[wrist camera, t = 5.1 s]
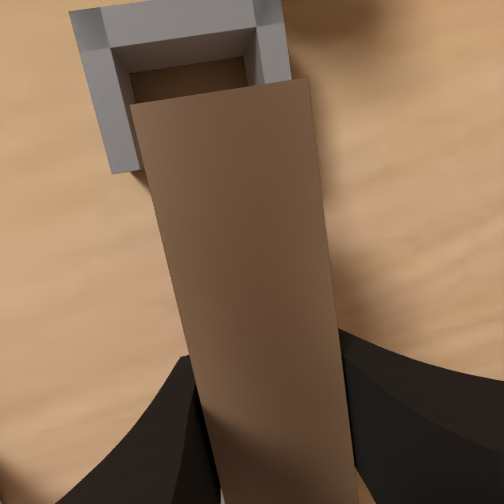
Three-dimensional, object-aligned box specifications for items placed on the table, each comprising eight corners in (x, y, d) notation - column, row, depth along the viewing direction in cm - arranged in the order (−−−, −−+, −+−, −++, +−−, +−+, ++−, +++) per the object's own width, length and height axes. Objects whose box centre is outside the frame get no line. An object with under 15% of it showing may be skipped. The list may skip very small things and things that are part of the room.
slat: (241, 504, 14) (266, 677, 9) (158, 132, 11) (129, 104, 6) (315, 483, 15) (375, 640, 10) (258, 115, 11) (307, 77, 6)
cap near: (129, 172, 17) (111, 174, 13) (97, 46, 15) (68, 11, 12) (278, 145, 17) (299, 140, 14) (260, 22, 16) (278, -17, 12)
